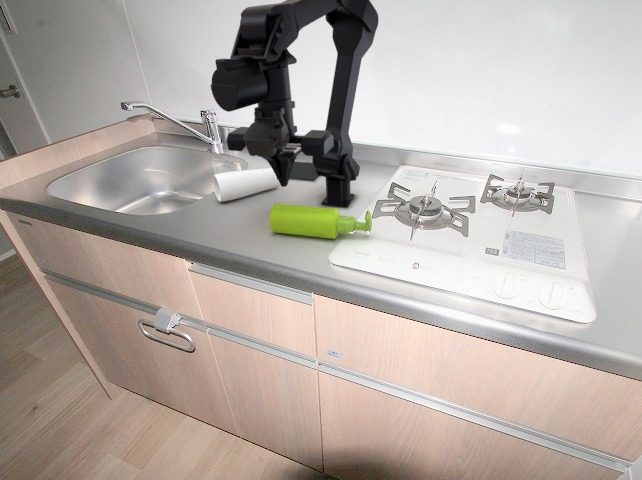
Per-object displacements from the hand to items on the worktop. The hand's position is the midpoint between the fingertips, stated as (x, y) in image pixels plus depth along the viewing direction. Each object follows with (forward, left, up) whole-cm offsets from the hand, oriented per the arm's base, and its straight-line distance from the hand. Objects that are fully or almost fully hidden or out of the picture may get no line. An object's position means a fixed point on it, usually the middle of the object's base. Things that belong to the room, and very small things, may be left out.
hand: (284, 185), depth 70 cm
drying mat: (+33, +12, -10) cm, 37 cm away
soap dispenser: (0, +3, -7) cm, 8 cm away
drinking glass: (+21, +13, -8) cm, 26 cm away
